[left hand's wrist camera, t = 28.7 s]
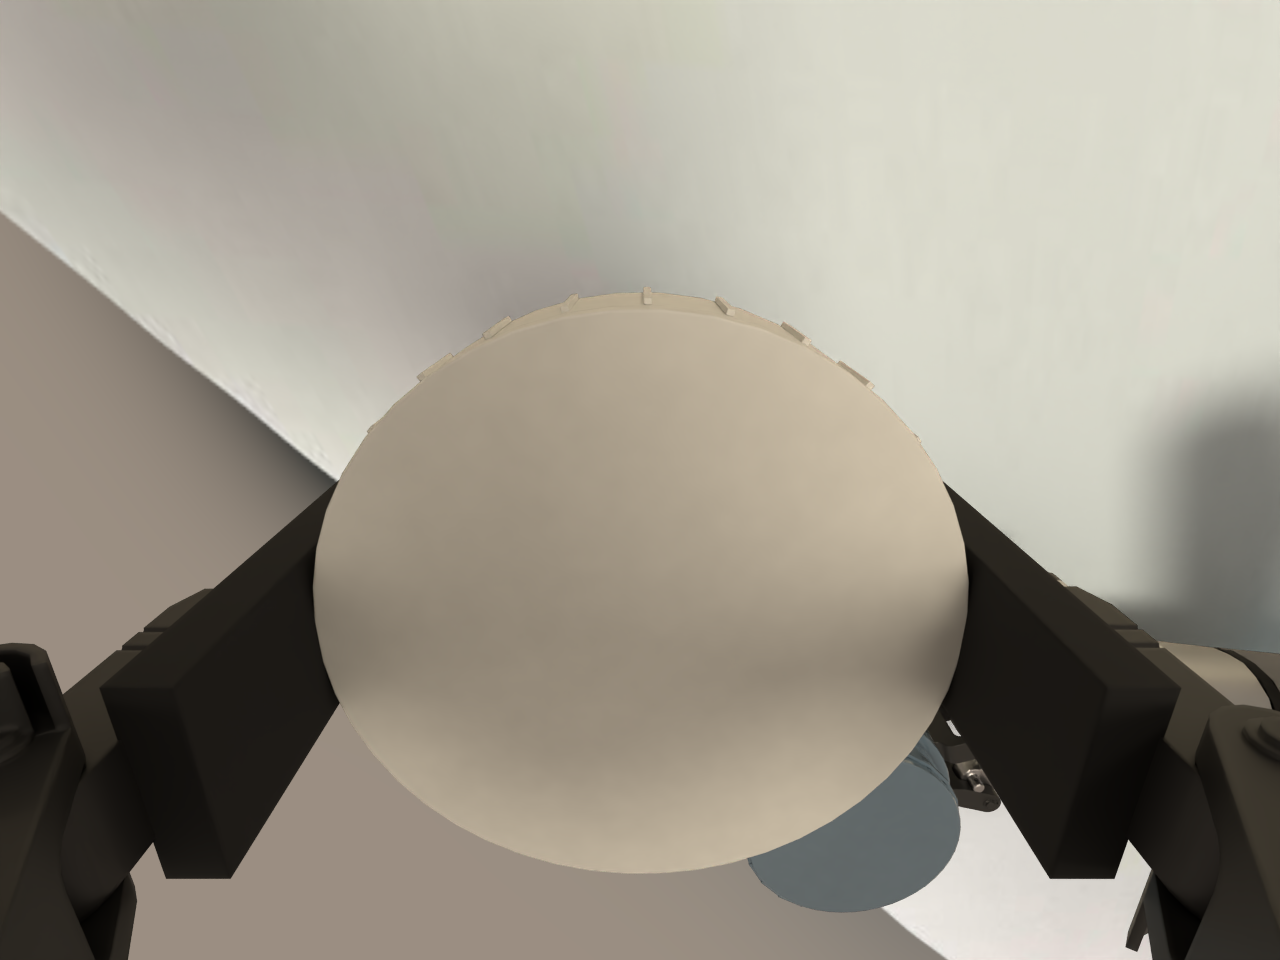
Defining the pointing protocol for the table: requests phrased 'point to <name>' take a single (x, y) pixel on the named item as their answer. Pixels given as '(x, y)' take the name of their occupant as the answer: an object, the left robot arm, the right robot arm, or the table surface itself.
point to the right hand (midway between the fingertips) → (708, 662)
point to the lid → (640, 586)
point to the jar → (873, 842)
